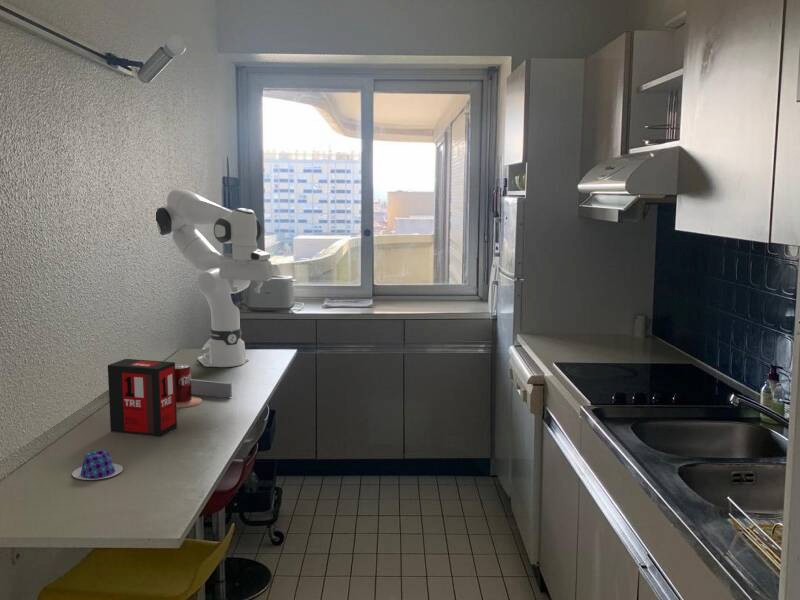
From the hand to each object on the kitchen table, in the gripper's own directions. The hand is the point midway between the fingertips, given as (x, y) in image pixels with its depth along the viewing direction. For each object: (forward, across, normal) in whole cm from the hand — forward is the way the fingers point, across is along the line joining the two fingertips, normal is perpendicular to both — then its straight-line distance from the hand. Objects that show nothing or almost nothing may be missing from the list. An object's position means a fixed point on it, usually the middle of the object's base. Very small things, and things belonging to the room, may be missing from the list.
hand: (245, 292), depth 292 cm
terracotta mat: (+33, -6, -32) cm, 46 cm away
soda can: (+33, -6, -32) cm, 47 cm away
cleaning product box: (+34, +1, -61) cm, 70 cm away
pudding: (+34, +12, -94) cm, 101 cm away
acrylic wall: (+33, -6, -21) cm, 40 cm away
